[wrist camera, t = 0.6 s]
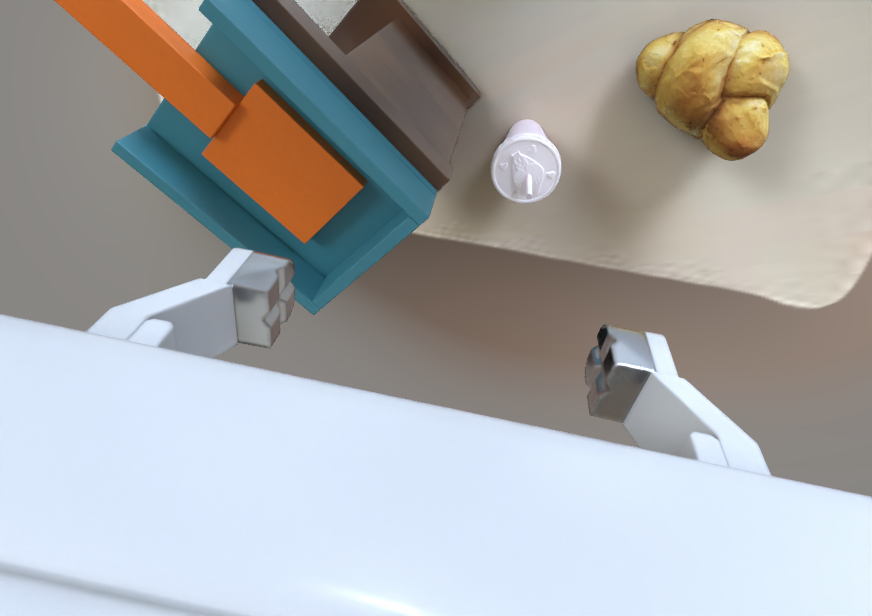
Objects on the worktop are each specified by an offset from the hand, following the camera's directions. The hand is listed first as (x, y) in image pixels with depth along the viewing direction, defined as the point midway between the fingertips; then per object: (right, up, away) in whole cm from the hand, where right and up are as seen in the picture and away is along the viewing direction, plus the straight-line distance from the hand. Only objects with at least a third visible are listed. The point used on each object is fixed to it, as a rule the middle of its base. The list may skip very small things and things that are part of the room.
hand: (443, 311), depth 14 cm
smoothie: (+9, +18, +42) cm, 46 cm away
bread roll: (+25, +23, +36) cm, 49 cm away
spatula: (-13, +13, +16) cm, 25 cm away
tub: (-9, +9, +19) cm, 23 cm away
